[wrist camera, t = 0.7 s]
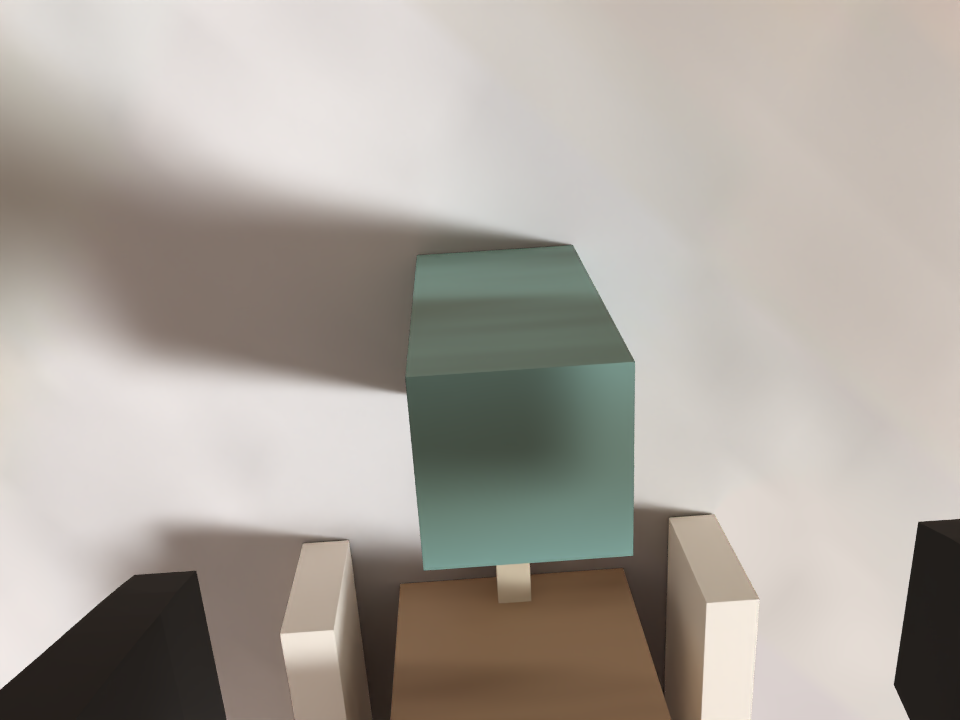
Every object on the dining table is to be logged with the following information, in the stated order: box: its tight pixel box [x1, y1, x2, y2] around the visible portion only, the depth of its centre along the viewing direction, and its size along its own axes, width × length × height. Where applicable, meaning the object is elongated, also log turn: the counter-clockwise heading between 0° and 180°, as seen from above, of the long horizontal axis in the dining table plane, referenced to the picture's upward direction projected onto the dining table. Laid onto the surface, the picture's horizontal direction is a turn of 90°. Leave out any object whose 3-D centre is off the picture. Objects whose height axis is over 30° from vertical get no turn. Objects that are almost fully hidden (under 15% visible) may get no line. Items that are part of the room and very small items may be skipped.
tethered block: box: [390, 245, 671, 720], centre depth 17 cm, size 12×5×6 cm, turn 3°
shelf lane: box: [280, 515, 760, 720], centre depth 20 cm, size 8×9×3 cm
